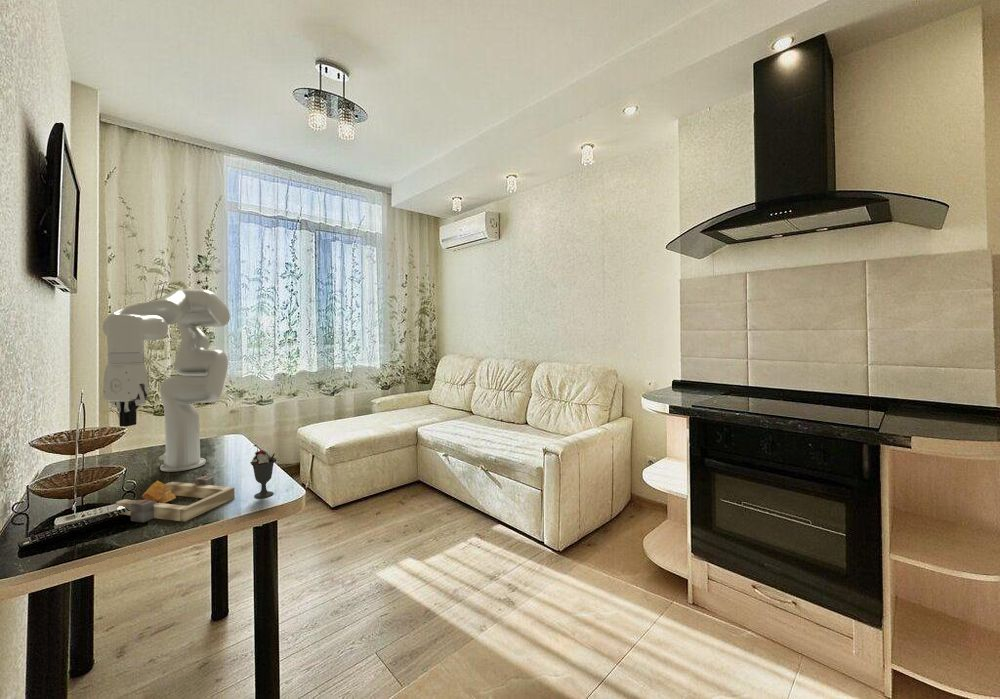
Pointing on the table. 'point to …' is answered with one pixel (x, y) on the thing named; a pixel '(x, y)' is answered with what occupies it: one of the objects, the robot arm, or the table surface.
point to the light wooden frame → (200, 489)
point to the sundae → (263, 471)
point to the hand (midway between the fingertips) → (128, 425)
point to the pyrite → (159, 493)
